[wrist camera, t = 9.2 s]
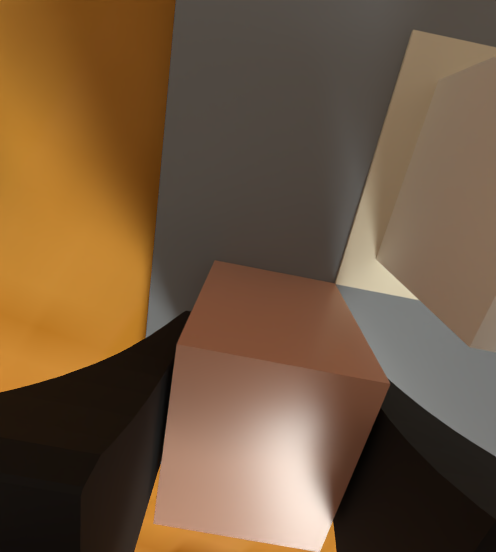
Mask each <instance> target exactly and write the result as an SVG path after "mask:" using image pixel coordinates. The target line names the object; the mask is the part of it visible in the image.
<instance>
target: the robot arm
mask: <svg viewBox="0 0 496 552" xmlns="http://www.w3.org/2000/svg"><path fill="white" fill-rule="evenodd" d="M190 314H191V311H184V312H183V313H181V314H180V315H178V316H177V317H176V318H174V319H173V320H172V321H170V322H169V323H167V324H166V325H165V326H163V327H162V328H160V329H159V330H157V331H156V332H154V333H153V334H151V335H150V336H148V337H147V338H145V339H143V340H142V341H140V342H138V343H137V344H135V345H133V346H131V347H130V348H128V349H126V350H124V351H122V352H120V353H118V354H116V355H114V356H111V357H109V358H107V359H105V360H103V361H100V362H98V363H96V364H93V365H90V366H88V367H85V368H82V369H79V370H77V371H74V372H71V373H68V374H66V375H63V376H60V377H57V378H53V379H50V380H47V381H43V382H40V383H36V384H33V385H29V386H25V387H21V388H17V389H13V390H9V391H5V392H1V393H0V552H134V550H135V547H136V543H137V540H138V536H139V533H140V530H141V526H142V523H143V519H144V516H145V513H146V509H147V506H148V503H149V499H150V496H151V493H152V489H153V486H154V483H155V479H156V476H157V473H158V470H159V467H160V464H161V461H162V454H163V446H164V438H165V430H166V423H167V415H168V407H169V400H170V392H171V384H172V376H173V369H174V361H175V353H176V345H177V342H178V340H179V338H180V336H181V333H182V331H183V329H184V327H185V325H186V322H187V320H188V318H189V316H190ZM388 380H389V379H388ZM389 382H390V386H389V389H388V391H387V393H386V396H385V398H384V401H383V403H382V405H381V408H380V410H379V412H378V415H377V417H376V420H375V422H374V424H373V427H372V429H371V431H370V434H369V436H368V438H367V441H366V443H365V446H364V448H363V450H362V453H361V455H360V457H359V460H358V462H357V465H356V467H355V469H354V472H353V474H352V476H351V479H350V481H349V483H348V486H347V488H346V491H345V493H344V495H343V498H342V500H341V502H340V505H339V507H338V510H337V512H336V514H335V517H334V519H333V523H334V531H335V540H336V550H337V552H496V456H494V455H492V454H491V453H489V452H488V451H486V450H484V449H483V448H481V447H479V446H478V445H476V444H475V443H473V442H471V441H470V440H468V439H467V438H465V437H464V436H462V435H461V434H459V433H458V432H456V431H455V430H453V429H452V428H450V427H449V426H447V425H446V424H445V423H443V422H442V421H440V420H439V419H438V418H436V417H435V416H434V415H432V414H431V413H429V412H428V411H427V410H425V409H424V408H423V407H421V406H420V405H419V404H418V403H416V402H415V401H414V400H413V399H411V398H410V397H409V396H408V395H407V394H405V393H404V392H403V391H402V390H401V389H399V388H398V387H397V386H396V385H395V384H394V383H392V382H391V381H390V380H389Z"/></svg>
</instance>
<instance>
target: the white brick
mask: <svg viewBox="0 0 496 552" xmlns="http://www.w3.org/2000/svg"><path fill="white" fill-rule="evenodd" d="M376 260H377V261H378V262H379V263H380V264H381V265H382V266H384V267H385V268H386V269H387V270H388V271H389V272H390V273H391V274H392V275H393V276H394V277H395V278H396V279H397V280H398V281H399V282H401V283H402V284H403V285H404V286H405V287H406V288H407V289H408V290H409V291H410V292H411V293H412V294H413V295H414V296H415V297H416V298H418V299H419V300H420V301H421V302H422V303H423V304H424V305H425V306H426V307H427V308H428V309H429V310H430V311H431V312H432V313H434V314H435V315H436V316H437V317H438V318H439V319H440V320H441V321H442V322H443V323H444V324H445V325H446V326H447V327H448V328H449V329H451V330H452V331H453V332H454V333H455V334H456V335H457V336H458V337H459V338H460V339H461V340H462V341H463V342H464V343H465V344H466V345H468V346H469V347H470V348H476V349H481V350H486V351H491V352H496V56H495V57H493V58H490V59H488V60H486V61H483V62H481V63H478V64H476V65H474V66H471V67H469V68H466V69H464V70H462V71H459V72H457V73H454V74H452V75H450V76H447V77H445V78H442V79H440V80H438V83H437V86H436V89H435V91H434V94H433V97H432V100H431V103H430V106H429V109H428V111H427V114H426V117H425V120H424V123H423V126H422V129H421V131H420V134H419V137H418V140H417V143H416V146H415V149H414V151H413V154H412V157H411V160H410V163H409V166H408V169H407V171H406V174H405V177H404V180H403V183H402V186H401V189H400V192H399V194H398V197H397V200H396V203H395V206H394V209H393V212H392V214H391V217H390V220H389V223H388V226H387V229H386V232H385V234H384V237H383V240H382V243H381V246H380V249H379V252H378V254H377V257H376Z"/></svg>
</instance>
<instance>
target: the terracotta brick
mask: <svg viewBox="0 0 496 552" xmlns="http://www.w3.org/2000/svg"><path fill="white" fill-rule="evenodd" d="M389 386H390V382H389V380H388V378H387V377H386V375H385V373H384V371H383V369H382V368H381V366H380V364H379V362H378V360H377V359H376V357H375V355H374V353H373V351H372V349H371V348H370V346H369V344H368V342H367V340H366V339H365V337H364V335H363V333H362V331H361V330H360V328H359V326H358V324H357V322H356V320H355V319H354V317H353V315H352V313H351V311H350V310H349V308H348V306H347V304H346V302H345V301H344V299H343V297H342V295H341V293H340V292H339V290H338V288H337V286H336V284H335V283H330V282H325V281H320V280H315V279H310V278H304V277H299V276H294V275H289V274H284V273H279V272H273V271H268V270H263V269H258V268H253V267H248V266H242V265H237V264H232V263H227V262H222V261H216V260H215V261H214V263H213V265H212V267H211V269H210V272H209V274H208V276H207V278H206V280H205V283H204V285H203V287H202V289H201V292H200V294H199V296H198V298H197V300H196V303H195V305H194V307H193V309H192V311H191V314H190V316H189V318H188V320H187V322H186V325H185V327H184V329H183V331H182V333H181V336H180V338H179V340H178V342H177V345H176V353H175V361H174V369H173V376H172V384H171V392H170V400H169V407H168V415H167V423H166V430H165V438H164V446H163V454H162V461H161V469H160V477H159V485H158V492H157V500H156V508H155V516H154V523H153V524H158V525H164V526H170V527H176V528H182V529H187V530H193V531H199V532H205V533H211V534H217V535H222V536H228V537H234V538H240V539H246V540H251V541H257V542H263V543H269V544H275V545H281V546H286V547H292V548H298V549H304V550H310V551H316V552H320V550H321V547H322V545H323V543H324V540H325V538H326V536H327V533H328V531H329V528H330V526H331V524H332V521H333V519H334V517H335V514H336V512H337V510H338V507H339V505H340V502H341V500H342V498H343V495H344V493H345V491H346V488H347V486H348V483H349V481H350V479H351V476H352V474H353V472H354V469H355V467H356V465H357V462H358V460H359V457H360V455H361V453H362V450H363V448H364V446H365V443H366V441H367V438H368V436H369V434H370V431H371V429H372V427H373V424H374V422H375V420H376V417H377V415H378V412H379V410H380V408H381V405H382V403H383V401H384V398H385V396H386V393H387V391H388V389H389Z"/></svg>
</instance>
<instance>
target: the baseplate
mask: <svg viewBox="0 0 496 552" xmlns="http://www.w3.org/2000/svg"><path fill="white" fill-rule="evenodd" d="M495 56H496V0H176V4H175V16H174V27H173V38H172V49H171V60H170V72H169V83H168V94H167V105H166V117H165V128H164V139H163V150H162V161H161V173H160V184H159V195H158V206H157V217H156V229H155V240H154V251H153V262H152V273H151V285H150V296H149V307H148V318H147V329H146V338H147V337H148V336H150V335H151V334H153V333H154V332H156V331H157V330H159V329H160V328H162V327H163V326H165V325H166V324H167V323H169V322H170V321H172V320H173V319H174V318H176V317H177V316H178V315H180V314H181V313H183V312H184V311H192V309H193V307H194V305H195V303H196V300H197V298H198V296H199V294H200V292H201V289H202V287H203V285H204V283H205V280H206V278H207V276H208V274H209V272H210V269H211V267H212V265H213V263H214V261H215V260H216V261H222V262H227V263H232V264H237V265H242V266H248V267H253V268H258V269H263V270H268V271H273V272H279V273H284V274H289V275H294V276H299V277H304V278H310V279H315V280H320V281H325V282H330V283H335V284H336V286H337V288H338V290H339V292H340V293H341V295H342V297H343V299H344V301H345V302H346V304H347V306H348V308H349V310H350V311H351V313H352V315H353V317H354V319H355V320H356V322H357V324H358V326H359V328H360V330H361V331H362V333H363V335H364V337H365V339H366V340H367V342H368V344H369V346H370V348H371V349H372V351H373V353H374V355H375V357H376V359H377V360H378V362H379V364H380V366H381V368H382V369H383V371H384V373H385V375H386V377H387V378H388V379H389V380H390V381H391V382H392V383H394V384H395V385H396V386H397V387H398V388H399V389H401V390H402V391H403V392H404V393H405V394H407V395H408V396H409V397H410V398H411V399H413V400H414V401H415V402H416V403H418V404H419V405H420V406H421V407H423V408H424V409H425V410H427V411H428V412H429V413H431V414H432V415H434V416H435V417H436V418H438V419H439V420H440V421H442V422H443V423H445V424H446V425H447V426H449V427H450V428H452V429H453V430H455V431H456V432H458V433H459V434H461V435H462V436H464V437H465V438H467V439H468V440H470V441H471V442H473V443H475V444H476V445H478V446H479V447H481V448H483V449H484V450H486V451H488V452H489V453H491V454H492V455H494V456H496V352H491V351H486V350H481V349H476V348H470V347H469V346H468V345H466V344H465V343H464V342H463V341H462V340H461V339H460V338H459V337H458V336H457V335H456V334H455V333H454V332H453V331H452V330H451V329H449V328H448V327H447V326H446V325H445V324H444V323H443V322H442V321H441V320H440V319H439V318H438V317H437V316H436V315H435V314H434V313H432V312H431V311H430V310H429V309H428V308H427V307H426V306H425V305H424V304H423V303H422V302H421V301H420V300H419V299H418V298H416V297H415V296H414V295H413V294H412V293H411V292H410V291H409V290H408V289H407V288H406V287H405V286H404V285H403V284H402V283H401V282H399V281H398V280H397V279H396V278H395V277H394V276H393V275H392V274H391V273H390V272H389V271H388V270H387V269H386V268H385V267H384V266H382V265H381V264H380V263H379V262H378V261H377V260H376V257H377V254H378V252H379V249H380V246H381V243H382V240H383V237H384V234H385V232H386V229H387V226H388V223H389V220H390V217H391V214H392V212H393V209H394V206H395V203H396V200H397V197H398V194H399V192H400V189H401V186H402V183H403V180H404V177H405V174H406V171H407V169H408V166H409V163H410V160H411V157H412V154H413V151H414V149H415V146H416V143H417V140H418V137H419V134H420V131H421V129H422V126H423V123H424V120H425V117H426V114H427V111H428V109H429V106H430V103H431V100H432V97H433V94H434V91H435V89H436V86H437V83H438V80H440V79H442V78H445V77H447V76H450V75H452V74H454V73H457V72H459V71H462V70H464V69H466V68H469V67H471V66H474V65H476V64H478V63H481V62H483V61H486V60H488V59H490V58H493V57H495Z"/></svg>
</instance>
